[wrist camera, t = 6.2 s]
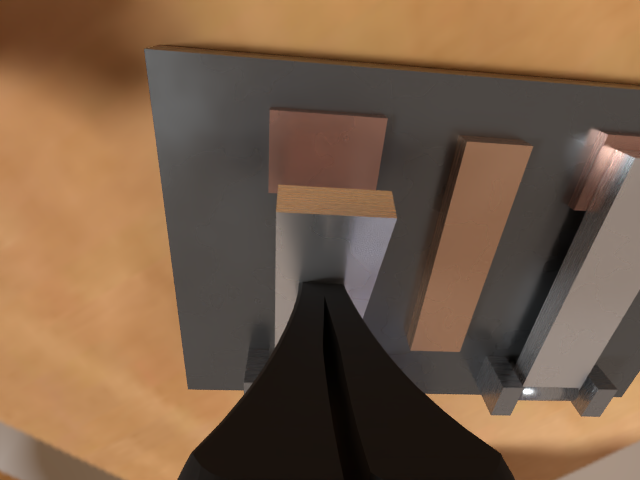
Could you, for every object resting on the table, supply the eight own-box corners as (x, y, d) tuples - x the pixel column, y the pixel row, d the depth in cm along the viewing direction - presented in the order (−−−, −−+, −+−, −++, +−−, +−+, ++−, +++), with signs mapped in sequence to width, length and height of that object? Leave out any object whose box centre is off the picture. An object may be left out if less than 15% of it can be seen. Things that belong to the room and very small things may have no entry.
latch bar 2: (557, 384, 21) (573, 407, 20) (503, 383, 21) (516, 406, 20) (686, 153, 15) (721, 165, 14) (611, 147, 15) (639, 160, 13)
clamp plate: (603, 375, 24) (648, 429, 21) (194, 366, 22) (177, 424, 19) (781, 97, 16) (897, 118, 13) (158, 44, 14) (119, 55, 11)
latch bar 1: (334, 373, 20) (335, 401, 19) (275, 372, 20) (274, 400, 19) (390, 186, 11) (398, 224, 10) (278, 179, 10) (275, 217, 9)
